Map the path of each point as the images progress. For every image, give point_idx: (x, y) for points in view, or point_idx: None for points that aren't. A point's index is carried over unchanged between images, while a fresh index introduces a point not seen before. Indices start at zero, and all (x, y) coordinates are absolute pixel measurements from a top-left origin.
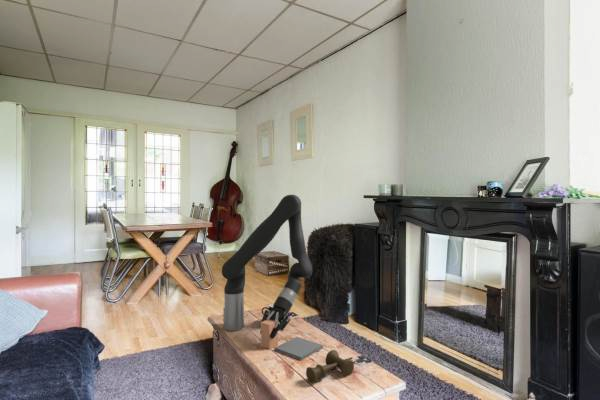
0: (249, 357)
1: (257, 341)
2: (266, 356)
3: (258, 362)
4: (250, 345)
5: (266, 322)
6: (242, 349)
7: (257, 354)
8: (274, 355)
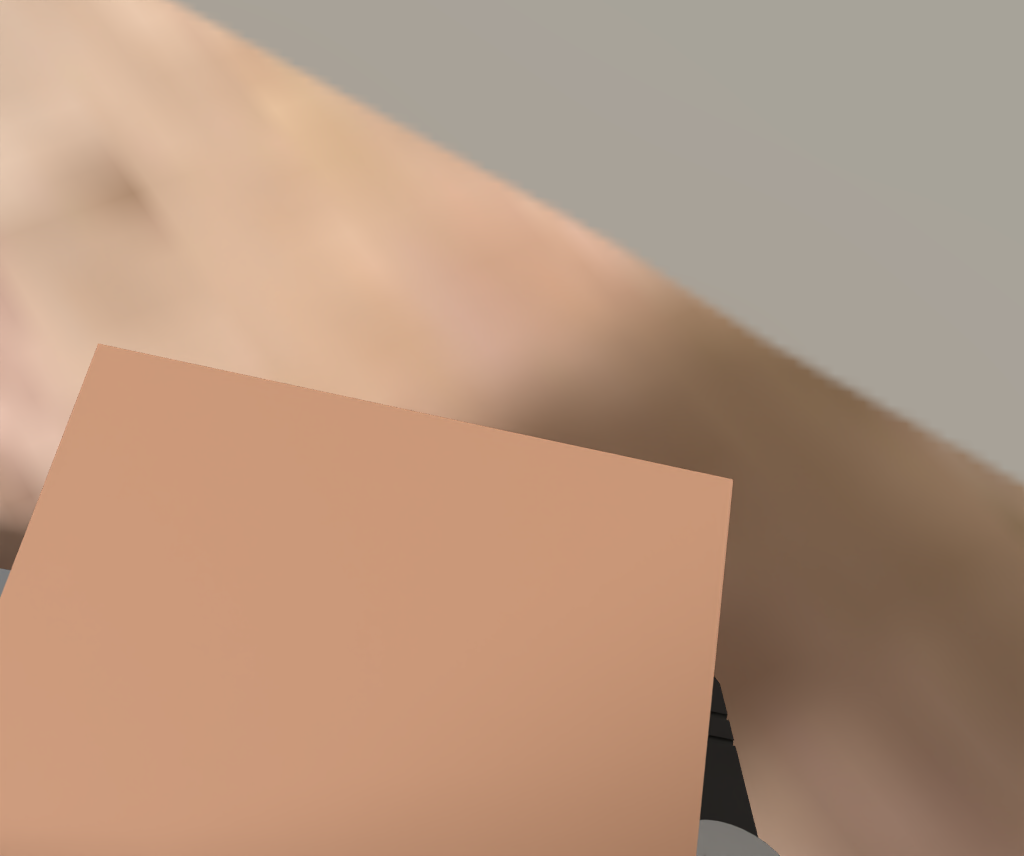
0: (437, 146)
1: (799, 852)
2: (150, 290)
3: (175, 61)
4: (778, 574)
5: (443, 576)
6: (779, 349)
7: (372, 291)
8: (3, 390)
